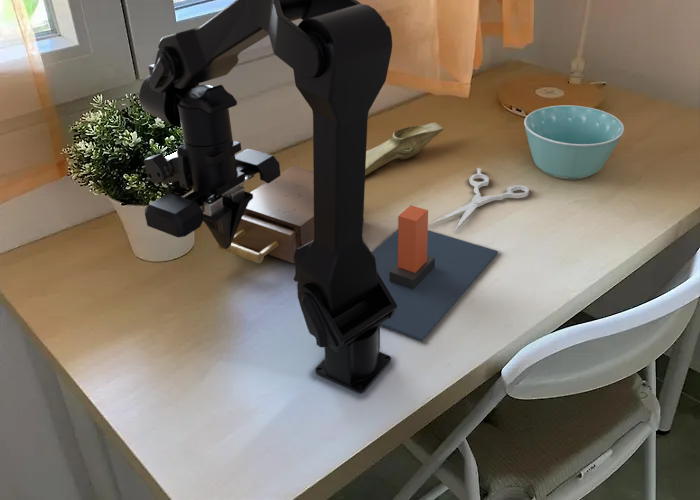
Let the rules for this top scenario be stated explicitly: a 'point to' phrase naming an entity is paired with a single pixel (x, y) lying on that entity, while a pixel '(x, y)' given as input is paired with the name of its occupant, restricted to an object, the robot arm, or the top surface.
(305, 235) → the cabinet
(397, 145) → the tool
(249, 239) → the drawer
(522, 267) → the top surface
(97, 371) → the top surface
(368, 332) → the robot arm
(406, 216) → the stamp
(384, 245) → the mat
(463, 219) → the scissors
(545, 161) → the bowl
